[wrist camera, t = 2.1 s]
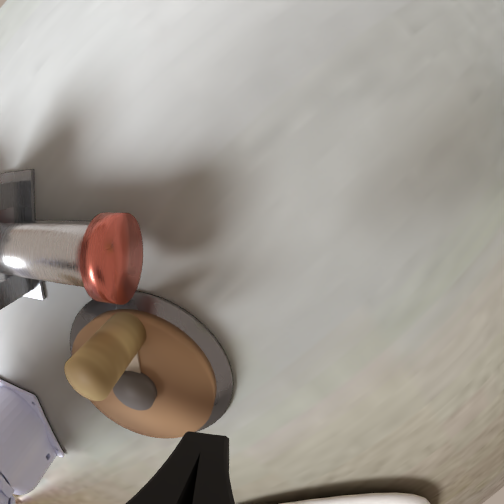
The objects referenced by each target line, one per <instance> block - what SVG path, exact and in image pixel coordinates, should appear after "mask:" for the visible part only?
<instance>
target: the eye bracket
mask: <svg viewBox="0 0 504 504" xmlns="http://www.w3.org/2000/svg"><path fill="white" fill-rule="evenodd" d="M90 222H91V221H57V220H35V209H34V169H30V170H23V171H15V172H8V173H2V174H0V223H37V224H76V225H89V224H90ZM22 296H26V297H31V298H35V299H40V300H44V299H45V295H44V289H43V283H42V280H36V279H30V278H24V277H19V276H13V275H7V274H2V273H0V310H1V309H2V308H4V307H5V306H7V305H9V304H10V303H12V302H14V301H15V300H17V299H18V298H20V297H22Z"/></svg>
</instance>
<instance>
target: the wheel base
mask: <svg viewBox="0 0 504 504" xmlns="http://www.w3.org/2000/svg"><path fill="white" fill-rule="evenodd" d="M115 309H133V310H139V311H144V312H147V313H150V314H153V315H156V316H158V317H160V318H163V319H165V320H166V321H168V322H170V323H172V324H174V325H175V326H176V327H178V328H179V329H181V330H182V331H183V332H185V333H186V334H187V335H188V336H189V337H190V338H192V339H193V341H194V342H195V343H196V344H197V345H198V346H199V347H200V348H201V350H202V351H203V352H204V354H205V355H206V357H207V358H208V360H209V362H210V364H211V366H212V368H213V371H214V374H215V378H216V385H217V390H216V397H215V401H214V405H213V409H212V413H211V415H210V417H209V419H208V420H207V422H206V423H205V424H204V425H203V426H202V427H201V428H200V429H198V430H197V431H200V430H202V429H205V428H207V427H209V426H210V425H212V424H213V423H215V422H216V421H217V420H218V419H219V418H221V416H222V415H223V414H224V412H225V411H226V409H227V407H228V406H229V403H230V400H231V397H232V391H233V375H232V370H231V366H230V363H229V361H228V358H227V356H226V354H225V352H224V350H223V348H222V347H221V345H220V343H219V342H218V341H217V339H216V338H215V337H214V335H213V334H212V333H211V332H210V331H209V330H208V329H207V328H206V327H205V325H203V324H202V323H201V322H200V321H199V320H198V319H197V318H195V317H194V316H193V315H191V314H190V313H188V312H187V311H186V310H184V309H183V308H181V307H179V306H177V305H176V304H174V303H172V302H170V301H167V300H165V299H163V298H160V297H158V296H154V295H151V294H148V293H143V292H137V291H136V292H135V294H134V295H133V297H132V298H131V300H130V301H129V302H128V303H126V304H123V305H119V304H112V303H105V302H99V301H95V300H94V299H93V300H92V301H90V302H89V303H87V304H86V305H85V306H84V307H83V308H82V309H81V310H80V311H79V313H78V315H77V316H76V318H75V320H74V322H73V325H72V329H71V333H70V349H71V355H72V348H73V343H74V341H75V338H76V336H77V335H78V333H79V332H80V331H81V330H82V329H83V328H84V327H85V326H86V325H87V324H88V323H89V322H90V321H91V320H93V319H94V318H95V317H97V316H98V315H100V314H102V313H104V312H107V311H111V310H115ZM195 432H196V431H195Z"/></svg>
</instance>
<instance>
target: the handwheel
mask: <svg viewBox="0 0 504 504" xmlns="http://www.w3.org/2000/svg"><path fill="white" fill-rule="evenodd" d="M64 371H65V375H66V378H67V380H68V382H69V383H70V385H71V386H72V387H73V388H74V389H75V390H76V391H77V392H78V393H79V394H81V395H82V396H84V397H85V398H87V399H89V400H90V401H91V402H92V403H93V404H94V405H95V406H96V407H97V408H98V409H99V410H100V411H101V412H102V413H103V414H104V415H106V416H107V417H108V418H110V419H111V420H112V421H114V422H115V423H117V424H119V425H121V426H122V427H124V428H126V429H129V430H131V431H133V432H136V433H139V434H142V435H146V436H150V437H156V438H177V437H182V436H184V434H185V433H186V432H188V431H191V432H195V431H197V430H198V429H200V428H201V427H202V426H203V425H204V424H205V423H206V422H207V420H208V419H209V417H210V415H211V413H212V409H213V405H214V401H215V397H216V390H217V385H216V378H215V374H214V371H213V368H212V366H211V364H210V362H209V360H208V358H207V357H206V355H205V354H204V352H203V351H202V350H201V348H200V347H199V346H198V345H197V344H196V343H195V342H194V341H193V339H192V338H190V337H189V336H188V335H187V334H186V333H185V332H183V331H182V330H181V329H179V328H178V327H176V326H175V325H174V324H172V323H170V322H168V321H166V320H165V319H163V318H160V317H158V316H156V315H153V314H150V313H147V312H144V311H139V310H133V309H115V310H111V311H107V312H104V313H102V314H100V315H98V316H97V317H95V318H94V319H93V320H91V321H90V322H89V323H88V324H87V325H86V326H85V327H84V328H83V329H82V330H81V331H80V332H79V333H78V335H77V336H76V338H75V341H74V343H73V348H72V357H71V358H70V359H69V360H68V361H67V362H66V363H65V367H64Z"/></svg>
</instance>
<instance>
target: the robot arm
mask: <svg viewBox="0 0 504 504" xmlns="http://www.w3.org/2000/svg"><path fill="white" fill-rule="evenodd" d="M56 456H60V457H64V453H63V451H62V449H61V447H60V445H59V444H58V442H57V440H56V438H55V436H54V434H53V432H52V430H51V428H50V426H49V424H48V422H47V419H46V417H45V415H44V413H43V411H42V408H41V406H40V404H39V402H38V399H37V397H36V396H35V395H34V394H32V393H29V392H27V391H25V390H23V389H20V388H18V387H16V386H14V385H12V384H9V383H7V382H5V381H3V380H1V379H0V504H15V499H14V497H13V496H12V494H17V495H23V494H26V493H29V492H31V491H32V490H33V489H34V488H35V487H36V486H37V485H38V483H39V482H40V480H41V478H42V477H43V475H44V474H45V472H46V471H47V469H48V468H49V466H50V465H51V463H52V462H53V460H54V459H55V457H56ZM126 504H235V502H234V498H233V494H232V489H231V483H230V478H229V438H227V437H226V436H220V435H212V434H204V433H197V432H191V431H188V432H186V433H185V434H184V436H183V438H182V439H181V441H180V442H179V444H178V445H177V447H176V448H175V450H174V451H173V452H172V454H171V455H170V456H169V458H168V459H167V460H166V462H165V463H164V464H163V465H162V467H161V468H160V469H159V470H158V471H157V473H156V474H155V475H154V476H153V477H152V478H151V479H150V481H149V482H148V483H147V484H146V485H145V486H144V487H143V488H142V489H141V490H140V491H139V492H138V493H137V494H136V495H135V496H134V497H133V498H131V499H130V500H129V501H128V502H127V503H126Z"/></svg>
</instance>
